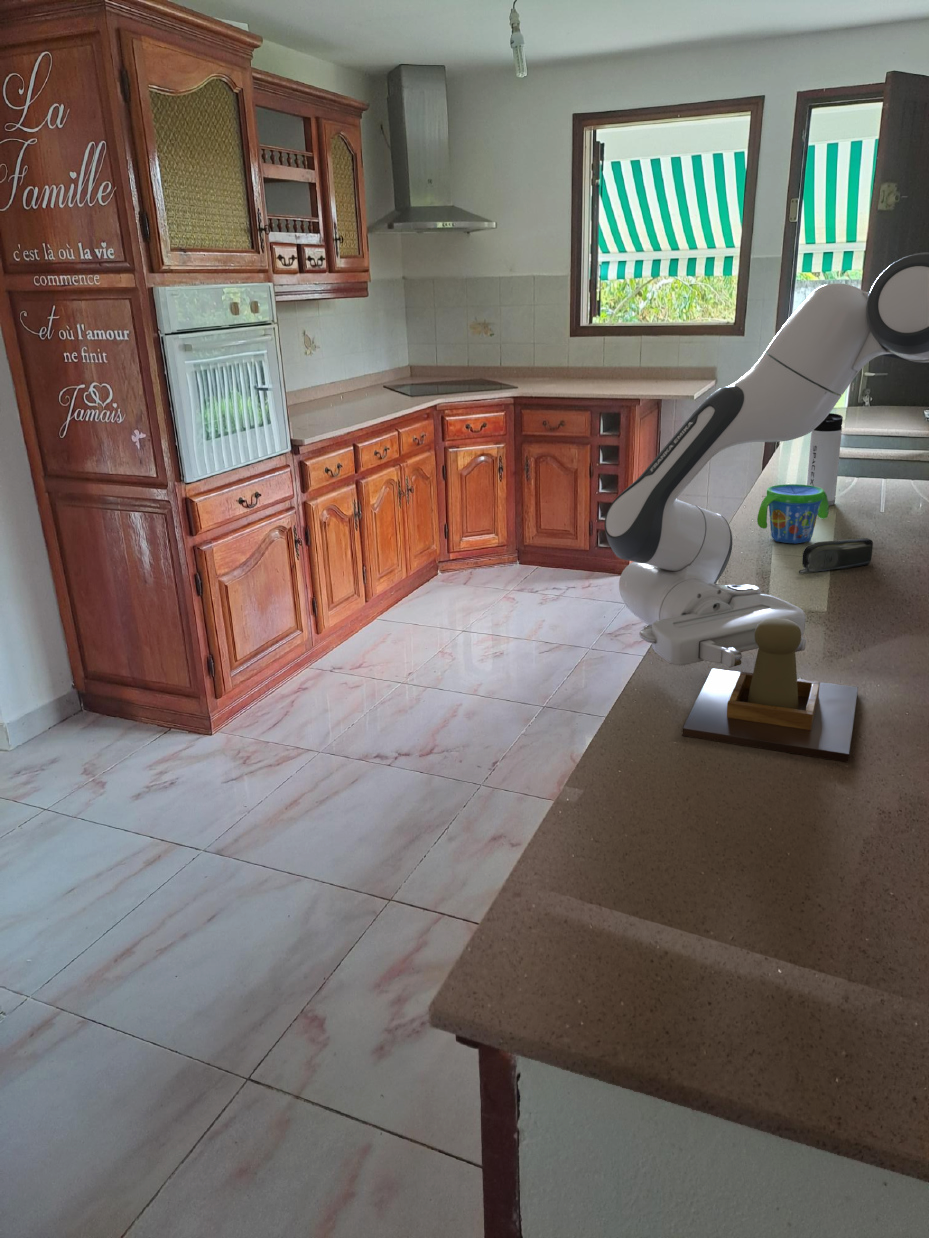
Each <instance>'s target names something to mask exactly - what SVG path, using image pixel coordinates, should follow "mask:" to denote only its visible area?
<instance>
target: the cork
mask: <svg viewBox="0 0 929 1238" xmlns="http://www.w3.org/2000/svg"><path fill="white" fill-rule="evenodd" d="M755 642H756V644H757V645H758V647H759V648H758V649H757V653H756V658H755V663H754V666H753V672H752V673H753V676H752V681H751V685H750V690H749V695H748V699H747V703H754V704H761V705H768V706H775V707H782V708H790V709H797V710H799V704H798V688H797V679H798V677H797V676H798V674H797V673H798V672H797V659H796V657H797V656H796V652H795V650H796V649H797V647H798V646H799V645H800V642H801V630H800V628H799V626H798V625H797V624H796V623H794V622H793V621H790V620H787V619H782V618H770V619H766V620H763V621H761V622H760V623H759V624H758V625H757V627H756V630H755Z"/></svg>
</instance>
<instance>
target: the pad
mask: <svg viewBox="0 0 929 1238" xmlns="http://www.w3.org/2000/svg"><path fill="white" fill-rule="evenodd" d="M752 676H753V672H747V671H736V670H728V669H720V668H711V669H710V672H709V674H708V675H707V678H706V680H705V682H704V684H703V686H702V688H701V690H700V692H699V694H698V696H697V698H696V700H695V702H694V704H693V706H692V708H691V710H690V712H689V714H688V716H687V718H686V720H685V722H684V724H683V726H682V730H681V736H683V737H688V738H689V737H690V738H696V739H701V740H707V741H713V742H721V743H725V744H732V745H739V746H746V747H751V748H756V749H757V748H758V749H763V750H764V749H765V750H769V751H777V752H781V753H782V752H783V753H789V754H795V755H801V756H808V757H813V758H820V759H826V760H833V761H838V762H844V763H849V761H850V753H851V746H852V740H853V739H852V738H853V731H854V723H855V716H856V709H857V701H858V693H859V686H854V685H845V684H838V683H830V682H822V681H817V680H811V679H801V678H797V688H798V704H799V710H797V709H790V708H782V707H775V706H768V705H761V704H754V703H747V699H748V695H749V690H750V685H751V681H752Z"/></svg>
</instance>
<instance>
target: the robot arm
mask: <svg viewBox="0 0 929 1238" xmlns="http://www.w3.org/2000/svg"><path fill="white" fill-rule="evenodd" d="M879 356H883V357H885V358H886V357H887V358H892V359H899V360H903V361H906V362H909V363H915V364H922V365H929V252H919V253H913V254H910V255H907V256H904V257H902V258H900V259H898V260H896V261H894V262H892V263H891V264H890V265H888V267H886V268H885V269H884V270H883V271H882V272H881V273H880V274H879V275H878V277H877V278H876V279H875V281H874V282H873V283H872V285H871V288H870V290H869V291H866V290H863V289H861V288H858V287H856V286H854V285H851V284H847V283H842V282H834V283H832V282H831V283H826V284H823V285H821V286H819V287H817V288H815V289H814V290H813V291H812V292H811V293H810V294H809V295H808V296H807V297H806V299H805V300H803V302H801V304H800V305H799V306H798V307H797V309H796V310H795V311H794V312H793V313H792V314H791V315H790V316H789V318H788V319H787V320H786V321H785V323H784V324H783V325H782V326H781V328H780V329H779V331H778V332H777V333H776V335H775V336H774V337H773V339H772V340H771V342H770V343H769V345H768V346H767V347H766V349H765V351H764V352H763V354H762V355H761V356H760V357H759V359H758V361H757V362H756V363H755V364H754V365H753V366H752V367H751V369H750V370H748V371H747V372H746V373H745V374H744V375H743V376H741V377H740V378H739V379H737V380H736V381H735V382H733V383H731V384H730V385H728V386H723V387H720V388H718V389H716V390H714V392H712V393H711V394H710V395H708V397H707V398H705V400H704V401H703V402H702V403H700V405H699V406H698V407H697V408H696V409H695V410H694V411H693V412H692V414H691V415H690V416H689V417H688V418H687V420H685V421H684V423H683V425H681V427H680V428H679V429H678V430H677V432H676V433H675V434H674V435H673V437H672V438H670V440H669V441H668V443H667V444H666V445H665V446H664V447H663V448H662V450H661V451H659V453H658V454H657V456H655V458H654V459H653V460H652V461H651V462H650V464H649V465H648V466H647V467H646V469H645V470H644V471H643V472H642V473H641V475H640V476H638V477H637V478H636V479H635V480H634V481H633V482H632V483H631V484H630V485H629V486H628V487H627V488H625V489H624V490H623V491H622V492H621V493H619V494H618V496H617V497H616V498H615V499H614V500H613V501H612V502H611V504H610V506H609V507H608V509H607V512H606V514H605V518H604V524H603V525H604V532H605V537H606V540H607V542H608V545H609V547H610V548H611V551H612V552H613V553H614V555H615V556H616V557H617V558H619V559H621V560H624V561H629V562H631V563H629V564H628V565H626V567H625V568H624V569H623V571H622V572H621V574H620V577H619V581H618V591H619V592H618V593H619V596H620V598H621V601H622V602H623V604H624V606H625V607H626V608H627V609H628V611H630V613H632V614H633V615H634V616H635V617H636V618H638V619H639V620H640V621H642V622H643V623H645V624H646V625H645V626H643V628H642V629H641V630H640V631H639V632H638V635H639V637H640V638H641V639H642V640H643V641H645V642H646V643H649V644H651V648H652V649H653V651H654V652H655V653H656V654H657V655H658V656H659V657H660V658H662V659H663V660H664V661H665V662H667V663H668V664H670V665H673V666H679V667H680V666H681V667H682V666H686V665H690V664H695V663H699V662H703V661H704V662H709V663H715V664H716V663H717V664H723V666H726V667H727V668H732V667H737V666H740V665H741V664H742V660H741V659H742V657H743V655H742V653H744V652H748V651H753V650H758V649H759V647H758V645H757V644H756V642H755V630H756V627H757V625H758V624H759V623H760V622H761V621H763V620H766V619H770V618H782V619H787V620H790V621H793V622H794V623H796V624H797V625H798V626H799V628H800V630H801V642H800V645H799V646H798V647H797V649H796V650H795V653H797V652H802V651H806V645H807V644H806V643H807V640H806V638H805V637H804V635H805V630H806V621H807V620H806V613H805V611H804V610H803V609H802V608H801V607H799V606H796V605H795V604H792V603H791V602H788V601H786V600H784V599H782V598H780V597H777V596H774V595H771V594H766V593H762V590H761V588H760V587H759V586H757V585H754V584H720V583H717V582H718V581H719V579H721V576H722V575H723V573H724V572H725V570H726V568H727V566H728V564H729V561H730V559H731V556H732V550H733V533H732V529H731V526H730V524H729V523H728V521H727V519H726V517H724V516H723V515H721V514H720V513H716V512H713V511H711V510H709V509H705V508H703V507H700V506H698V505H695V504H690V503H688V502H685V501H682V500H679V499H677V498H678V497H679V496H681V494H682V493H683V491H684V490H685V489H686V488H687V487H688V486H689V484H690V483H692V481H693V480H694V479H695V478H696V476H697V475H698V474H699V473H700V472H701V471H702V470H703V468H704V467H705V466H706V465H707V464H708V463H709V461H710V460H712V458H714V456H716V455H717V454H718V453H720V452H721V451H724V450H726V449H727V448H728V449H729V448H731V447H733V446H737V445H743V444H750V443H782V442H787V441H792V440H796V439H799V438H802V437H804V436H807V435H809V434H811V432H812V431H813V430H814V429H815V428H816V427H817V426H818V425H820V424H821V423H822V422H823V420H824V419H825V418H826V417H827V416H828V415H829V413H831V412H832V410H834V408H835V406H836V405H837V403H838V402H839V401H840V399H841V398H842V396H843V395H844V394H845V392H846V391H847V389H848V388H849V386H850V385H851V383H852V382H853V380H854V379H855V378H856V377H857V375H858V374H859V372H860V371H861V370H862V369H863V368H864V367H865V366H866V365H867V364H868V363H869V362H870V361H872V360H873V359H875V358H877V357H879Z"/></svg>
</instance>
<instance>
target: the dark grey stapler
mask: <svg viewBox="0 0 929 1238" xmlns="http://www.w3.org/2000/svg"><path fill="white" fill-rule="evenodd" d="M873 547H874V542H873V540H872V539H871V538H867V537H862V538H850V539H849V538H848V539H839V540H825V541H816V542H814V543H812V544H809V545H807V546H805V548H804V549H803V552H802V563H801V564H802V567H803V569H799V571H798V573H799V574H800V575H802V574H809V573H814V572H824V571H832V570H839V569H848V568H849V569H851V568H857V567H864V566H867V565H869V564H870V563H871V562H872V557H873V556H872V555H873V549H874V548H873Z"/></svg>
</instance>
